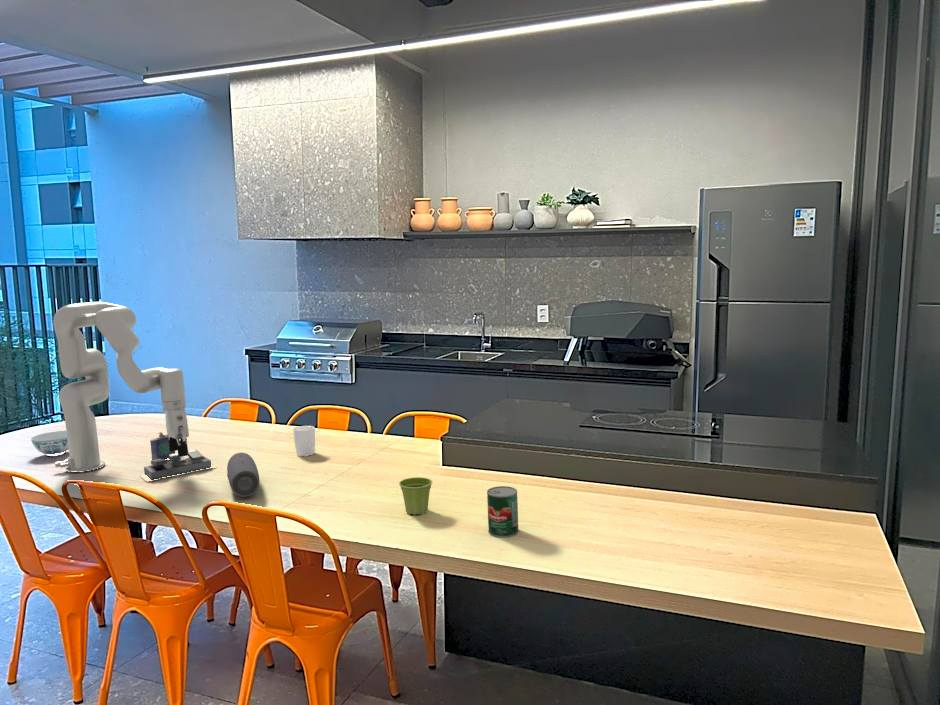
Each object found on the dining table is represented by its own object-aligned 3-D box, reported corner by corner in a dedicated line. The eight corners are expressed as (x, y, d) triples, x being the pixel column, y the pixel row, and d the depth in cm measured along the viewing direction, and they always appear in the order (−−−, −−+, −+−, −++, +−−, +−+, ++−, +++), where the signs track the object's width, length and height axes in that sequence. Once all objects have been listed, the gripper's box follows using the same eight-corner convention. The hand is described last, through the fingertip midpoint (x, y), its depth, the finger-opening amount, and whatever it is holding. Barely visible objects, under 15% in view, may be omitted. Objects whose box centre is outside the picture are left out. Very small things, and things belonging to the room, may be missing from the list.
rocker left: (156, 465, 242) (156, 461, 242) (151, 464, 247) (150, 460, 247) (167, 463, 244) (167, 459, 244) (162, 462, 249) (161, 458, 249)
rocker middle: (175, 464, 245) (175, 461, 245) (168, 457, 251) (168, 454, 250) (185, 462, 248) (185, 459, 247) (179, 455, 253) (179, 452, 252)
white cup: (313, 456, 263) (311, 430, 261) (292, 457, 263) (290, 431, 261) (318, 451, 270) (317, 425, 269) (298, 451, 271) (296, 425, 269)
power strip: (147, 482, 238) (146, 472, 238) (139, 475, 247) (138, 466, 246) (216, 467, 253) (215, 458, 252) (206, 461, 261) (206, 452, 260)
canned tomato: (517, 525, 190) (516, 485, 188) (520, 536, 182) (519, 495, 181) (487, 526, 190) (486, 486, 188) (489, 538, 182) (487, 496, 180)
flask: (154, 464, 260) (151, 435, 259) (150, 463, 262) (147, 434, 260) (177, 458, 268) (174, 430, 266) (172, 457, 269) (170, 429, 268)
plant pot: (416, 503, 209) (415, 475, 208) (440, 510, 203) (439, 480, 202) (393, 513, 202) (392, 483, 201) (417, 520, 196) (416, 489, 195)
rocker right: (192, 461, 249) (192, 457, 249) (186, 454, 254) (186, 451, 254) (203, 459, 251) (203, 455, 251) (196, 452, 256) (196, 449, 256)
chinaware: (63, 459, 271) (61, 439, 270) (24, 460, 271) (22, 441, 270) (85, 449, 286) (83, 430, 285) (48, 450, 286) (46, 431, 285)
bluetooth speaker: (227, 482, 236) (224, 452, 235) (256, 477, 240) (253, 449, 238) (230, 503, 215) (227, 471, 214) (262, 498, 219) (259, 467, 217)
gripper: (193, 406, 240) (198, 455, 242) (177, 399, 254) (182, 446, 256) (170, 410, 235) (175, 460, 238) (155, 403, 249) (160, 450, 251)
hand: (178, 453), depth 247 cm, fingers open, 9 cm apart
